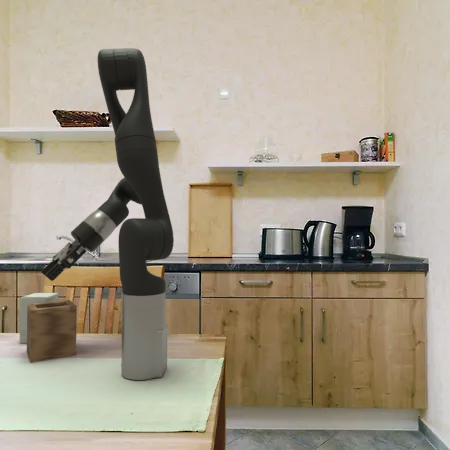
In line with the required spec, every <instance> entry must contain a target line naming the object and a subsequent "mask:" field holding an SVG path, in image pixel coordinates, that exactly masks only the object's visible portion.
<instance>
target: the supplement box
mask: <svg viewBox="0 0 450 450" xmlns="http://www.w3.org/2000/svg"><path fill="white" fill-rule="evenodd" d="M55 301H59V292H34V293H31V294H28V295H24V296H21V297H20V304H19V305H20V313H19V314H20V315H19V344H27V304H33V303H44V302H55Z"/></svg>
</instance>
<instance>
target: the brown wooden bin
mask: <svg viewBox="0 0 450 450" xmlns="http://www.w3.org/2000/svg"><path fill="white" fill-rule="evenodd" d="M77 310H78V309H77V305H76V304H75V303H74V302H73V301H72V300H70V299H67V300H65V299H64V300H58V301H55V302H44V303H33V304H27V343H26V353H27V356H28V360H29V364H32V363H38V362H42V361H48V360H56V359H60V358H66V357H71V356H73V357H74V356H77V320H78V319H77V313H78V312H77Z"/></svg>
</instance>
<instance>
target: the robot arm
mask: <svg viewBox="0 0 450 450" xmlns="http://www.w3.org/2000/svg"><path fill="white" fill-rule="evenodd" d="M97 70H98V76H99V80H100V84H101V88H102V91H103V95H104V99H105V100H104V101H105V104H106V109H107V112H108V114H109V118H110V122H111V124H112V129H113V131H114V135H115V137H114V145H115V152H116V153H115V154H116V162H117V165H118V168H119V170H120V172H121V174H122V176H123V178H122V179H120V180H119V181H118V183H117V184H116V186H115V187H114V189H112V192H111V193H110V194H109V197H108V199H107V200H105V201H104V202H103V203H102V204H101V205H100V206H99V207H98V208H97V209H96V210H94V211H92V212H91V213H90V214H89V215H87V216H86V218H84V220H82V221H81V222H80V223H79V224H78V225H76V226H75V228H74V229H73V230H72V231H71V232H70V235H71V237H72V238H73V239H74V241H73V242H72V243H71V242H67V243H66V244H65V246H64V247H62V248H61V249H60V250H59V251H58V252H57V253H56V254H55V255H53V257H52V259H51V261H50V262H49V263H48V264H47V265H46V266H44V267H43V268H42V270H41V271H40V272H41V274H42V275H43V276H45V277H46V278H47V279H49V281H51V282H53V281H55V279H57V278H58V277H59V276H60V275H61V274H63V272H64V271H66V270H69V269H71V268H72V266H74V265H75V263H77V261H79V259H81V257H83V256H84V254H86V253H87V252H89V253H93V252H95V251H96V250H97V249H98V247H100V246H101V245H102V244H103V243H104V242H105V241H106V240H107V239H108V238H109V236H111V235H112V233H114V232H115V230H116V228H118V227H119V226H120V225H121V226H120V228H119V233H118V240H117V241H118V258H119V259H118V262H119V280H120V283H121V362H120V363H121V365H120V367H121V376H122V377H123V378H125V379H127V380H135V381H143V380H151V379H155V378H162V377H163V375H164V374H165V372H166V370H167V368H168V324H166V280H165V278H163V277H161V276H157V275H155V274H153V273H151V272H150V271H149V270H148V267H147V261H159V260H165V259H167V258H169V256H170V255H171V253H172V252H173V250H174V249H173V248H174V242H175V239H174V231H173V230H174V229H173V225H172V221H171V217H170V214H169V209H168V205H167V201H166V197H165V194H164V189H163V187H164V186H163V181H162V177H161V172H160V166H159V165H160V163H159V162H160V161H159V155H158V148H157V147H158V146H157V141H156V135H155V130H154V125H153V120H152V113H151V108H150V107H151V106H150V96H149V95H150V94H149V84H148V82H149V81H148V71H147V66H146V61H145V57H144V54H143V51H141V50H140V49H138V48H131V47H130V48H128V47H127V48H104V49H103V48H101V49H100V50H99V51H98V53H97ZM131 90H133V91H134V93H133V96H132V100H131V104H130V106H129V107H128V110H127V112H125V110H124V108H123V107H122V105H121V103H120V101H119V97H118V94H117V91H131ZM129 202H134V203H136V204H138V205H141V206H142V210H143V213H144V214H143V215H144V218H143V217H142V218H140V217H138V218H137V217H134V218H133V217H132V218H128V219H126V218H127V217H129V214H130V210H129V207H128V206H127V205H128V204H129Z"/></svg>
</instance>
